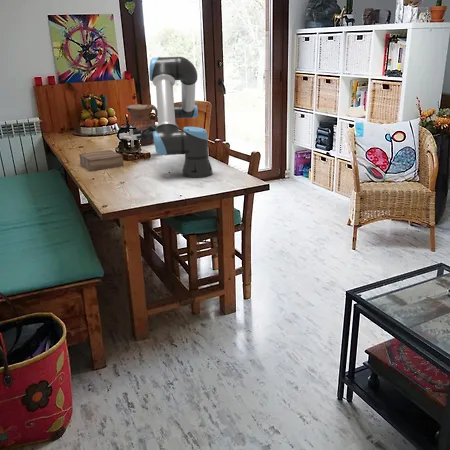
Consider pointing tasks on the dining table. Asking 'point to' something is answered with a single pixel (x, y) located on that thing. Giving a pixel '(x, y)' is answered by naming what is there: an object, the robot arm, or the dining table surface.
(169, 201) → the dining table surface
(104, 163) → the stand
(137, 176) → the dining table surface
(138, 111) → the jug
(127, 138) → the pipe connector
